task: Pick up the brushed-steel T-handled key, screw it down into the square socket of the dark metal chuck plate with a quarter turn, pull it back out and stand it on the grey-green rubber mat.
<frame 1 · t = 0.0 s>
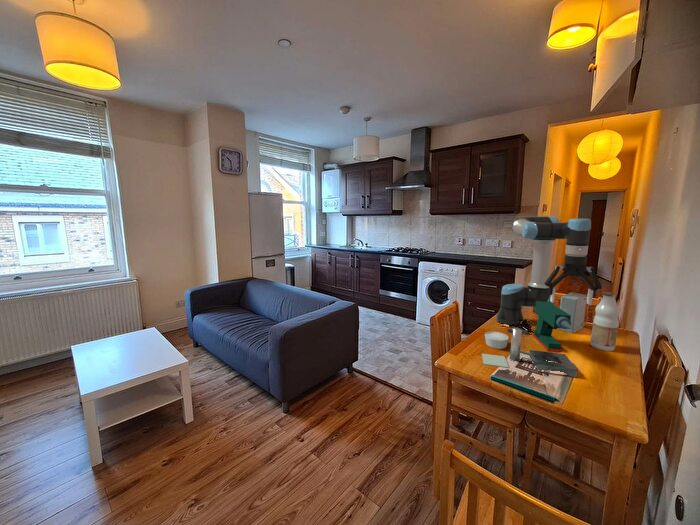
hand: (570, 303, 127), 28 cm above the table, fingers open, 13 cm apart
rubber mat: (494, 360, 134), on the table
chuck plate: (551, 366, 128), on the table
power tool: (552, 349, 144), on the table
ramekin: (495, 345, 150), on the table
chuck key: (514, 359, 135), on the table
fruit juice: (602, 347, 146), on the table
hard drive box: (570, 328, 169), on the table
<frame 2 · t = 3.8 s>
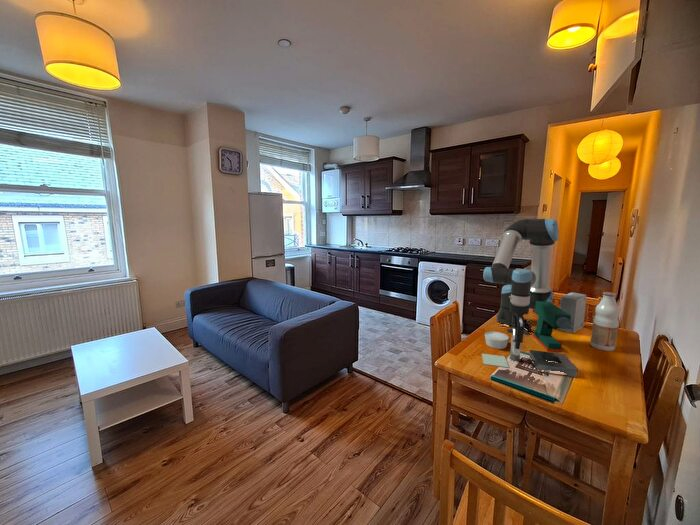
hand: (515, 352, 134), 4 cm above the table, fingers closed on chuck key, 4 cm apart
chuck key: (514, 359, 135), on the table, touching gripper
everything else where it was.
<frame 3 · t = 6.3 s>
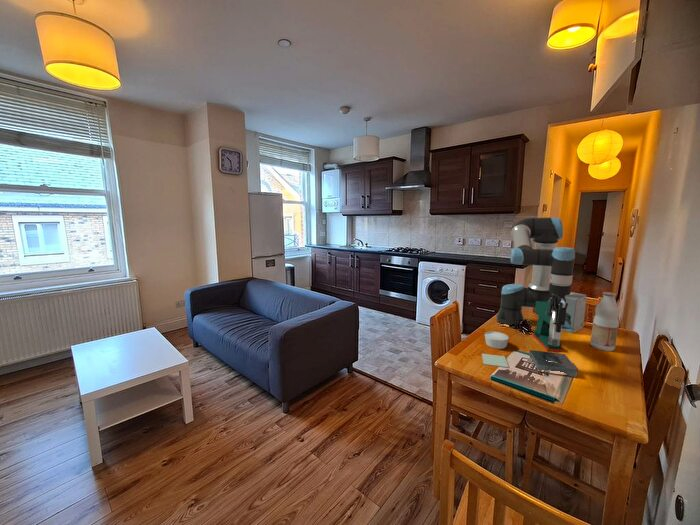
hand: (554, 336, 126), 14 cm above the table, fingers closed on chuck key, 4 cm apart
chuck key: (553, 344, 126), point 11 cm above the table, touching gripper
everything else where it was.
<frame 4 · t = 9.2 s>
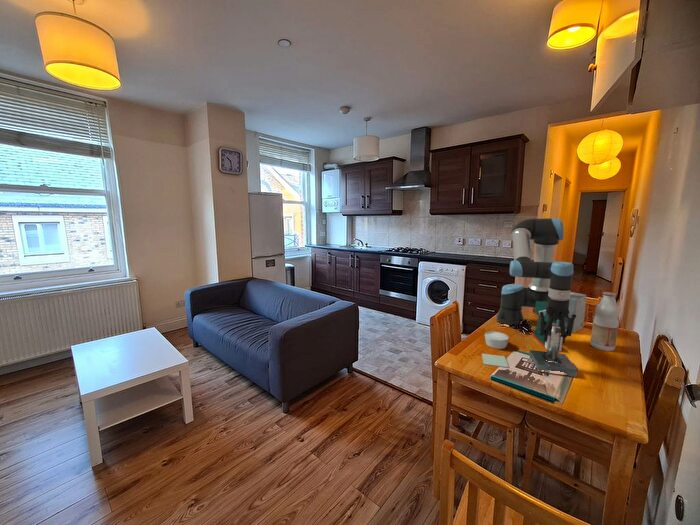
hand: (552, 348, 127), 8 cm above the table, fingers closed on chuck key, 4 cm apart
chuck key: (551, 357, 128), point 4 cm above the table, touching gripper
everything else where it was.
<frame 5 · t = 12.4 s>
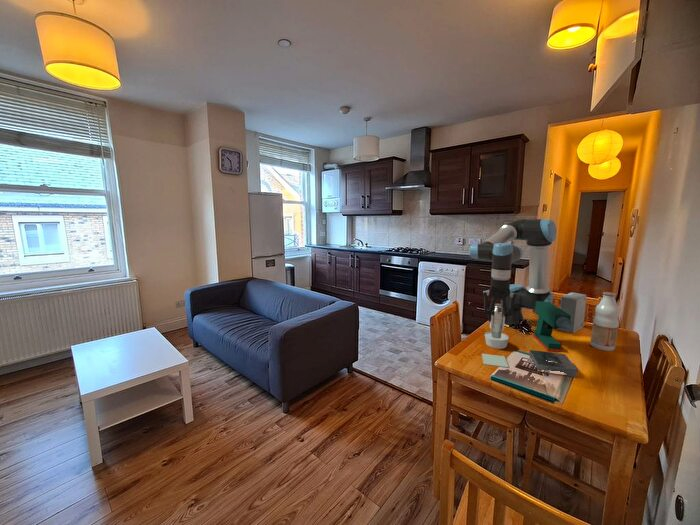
hand: (496, 328, 131), 16 cm above the table, fingers closed on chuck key, 4 cm apart
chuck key: (496, 336, 132), point 12 cm above the table, touching gripper
everything else where it was.
when the fingers open (4 cm above the table, at t = 14.6 s): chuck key stays where it is, resting on rubber mat.
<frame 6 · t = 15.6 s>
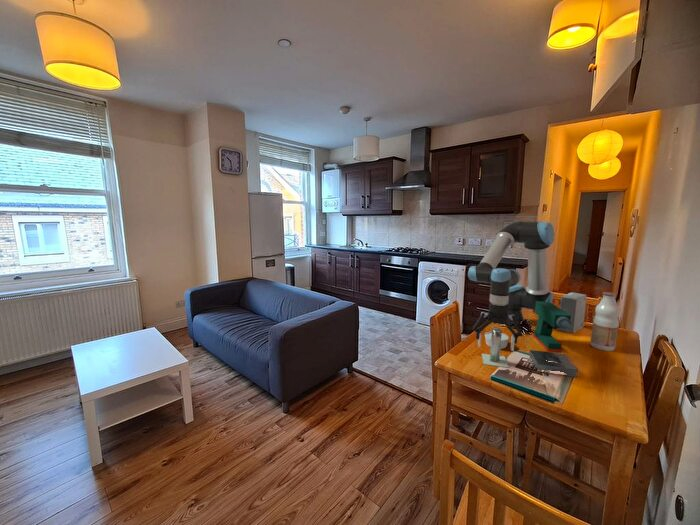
hand: (495, 347, 133), 6 cm above the table, fingers open, 13 cm apart
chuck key: (494, 360, 134), resting on rubber mat
everything else where it was.
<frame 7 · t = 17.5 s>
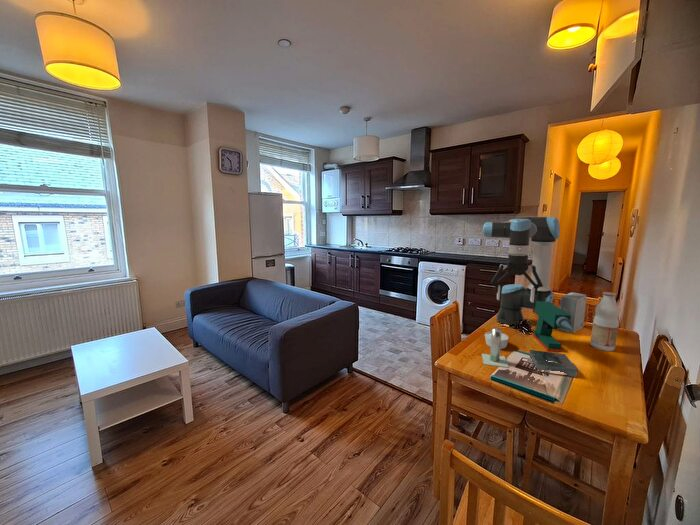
hand: (514, 300, 132), 28 cm above the table, fingers open, 13 cm apart
nothing on the table moved.
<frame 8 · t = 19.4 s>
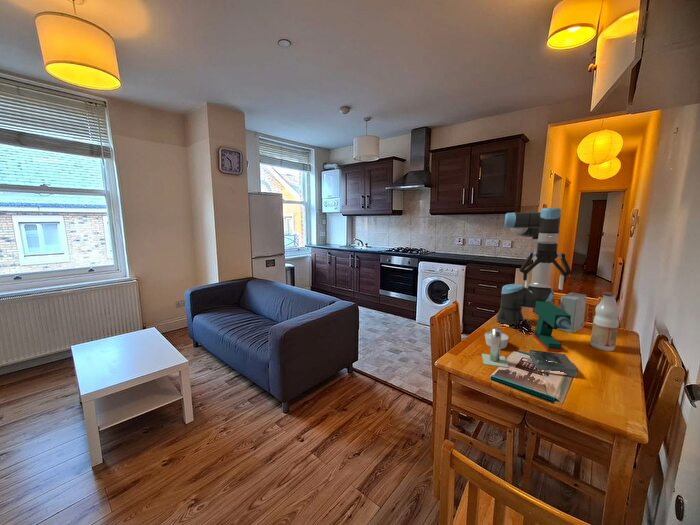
hand: (543, 288, 134), 33 cm above the table, fingers open, 13 cm apart
nothing on the table moved.
at the end: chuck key inside the target area on the rubber mat (0.1 cm from its centre), point 0.4 cm above the rubber mat's base; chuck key tilted 0°; the gripper is holding nothing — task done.
